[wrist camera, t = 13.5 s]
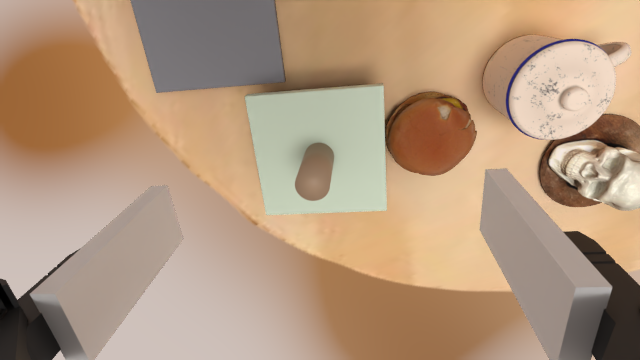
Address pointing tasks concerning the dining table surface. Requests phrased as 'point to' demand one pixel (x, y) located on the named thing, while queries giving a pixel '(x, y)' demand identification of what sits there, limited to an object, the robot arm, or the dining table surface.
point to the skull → (595, 165)
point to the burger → (430, 133)
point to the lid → (320, 149)
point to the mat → (210, 43)
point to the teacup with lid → (553, 83)
